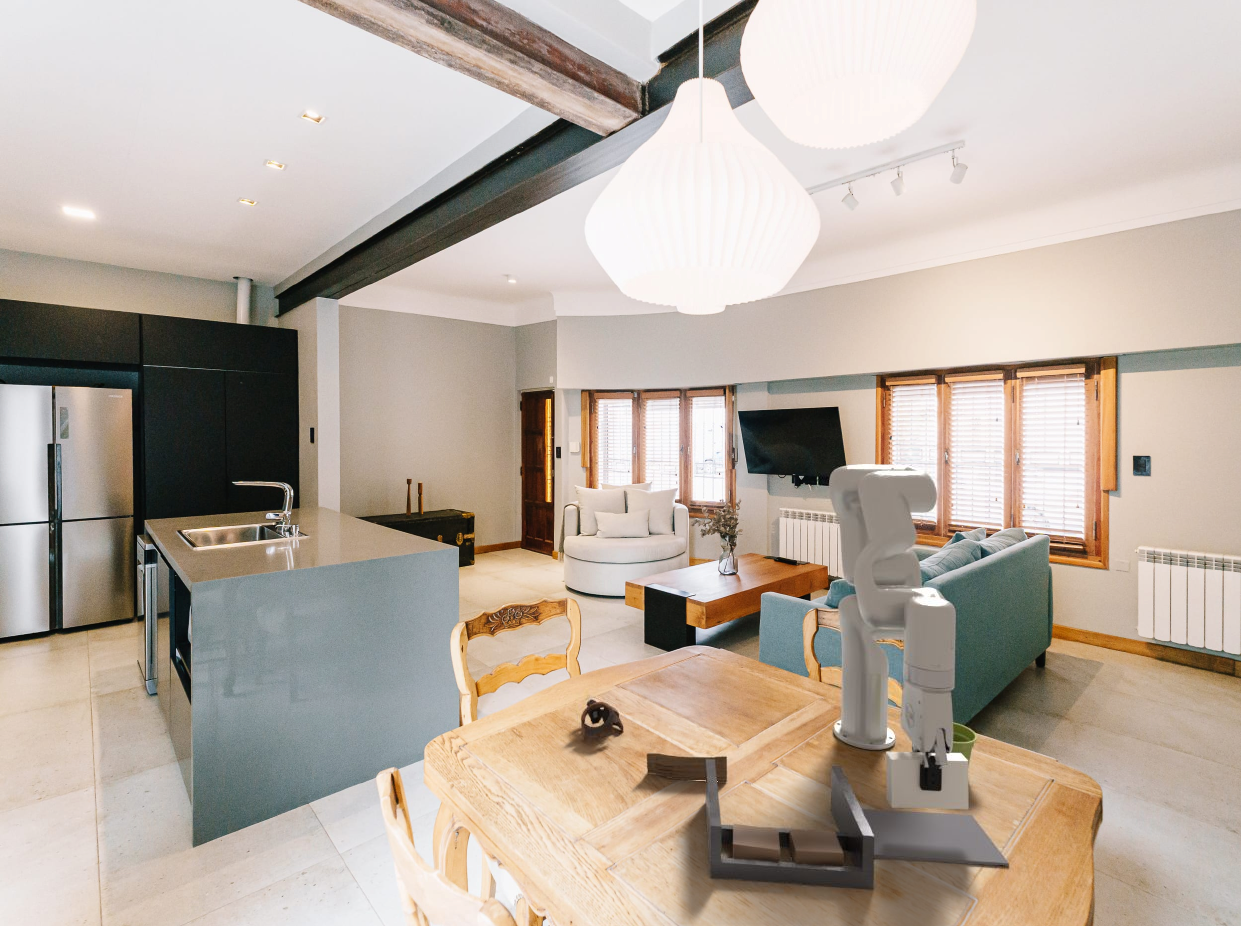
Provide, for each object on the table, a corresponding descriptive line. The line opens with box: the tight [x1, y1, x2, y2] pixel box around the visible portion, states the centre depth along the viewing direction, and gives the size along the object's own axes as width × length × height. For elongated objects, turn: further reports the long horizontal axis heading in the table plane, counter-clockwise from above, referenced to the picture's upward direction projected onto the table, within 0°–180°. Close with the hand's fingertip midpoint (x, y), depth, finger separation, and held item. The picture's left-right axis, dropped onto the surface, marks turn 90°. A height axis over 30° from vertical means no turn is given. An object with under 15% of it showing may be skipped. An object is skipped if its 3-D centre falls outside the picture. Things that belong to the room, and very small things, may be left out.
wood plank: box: [646, 752, 728, 783], centre depth 117 cm, size 15×2×5 cm, turn 83°
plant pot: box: [933, 722, 978, 769], centre depth 119 cm, size 9×9×9 cm
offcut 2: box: [788, 828, 845, 866], centre depth 93 cm, size 5×7×4 cm
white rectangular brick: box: [885, 751, 969, 810], centre depth 100 cm, size 2×12×8 cm, turn 85°
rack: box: [705, 759, 875, 890], centre depth 99 cm, size 19×24×8 cm
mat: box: [861, 808, 1010, 867], centre depth 100 cm, size 12×20×1 cm, turn 84°
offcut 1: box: [732, 823, 781, 862], centre depth 95 cm, size 5×7×4 cm
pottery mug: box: [580, 699, 625, 741], centre depth 135 cm, size 12×10×8 cm
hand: (926, 783), depth 100 cm, fingers closed on white rectangular brick, 2 cm apart
